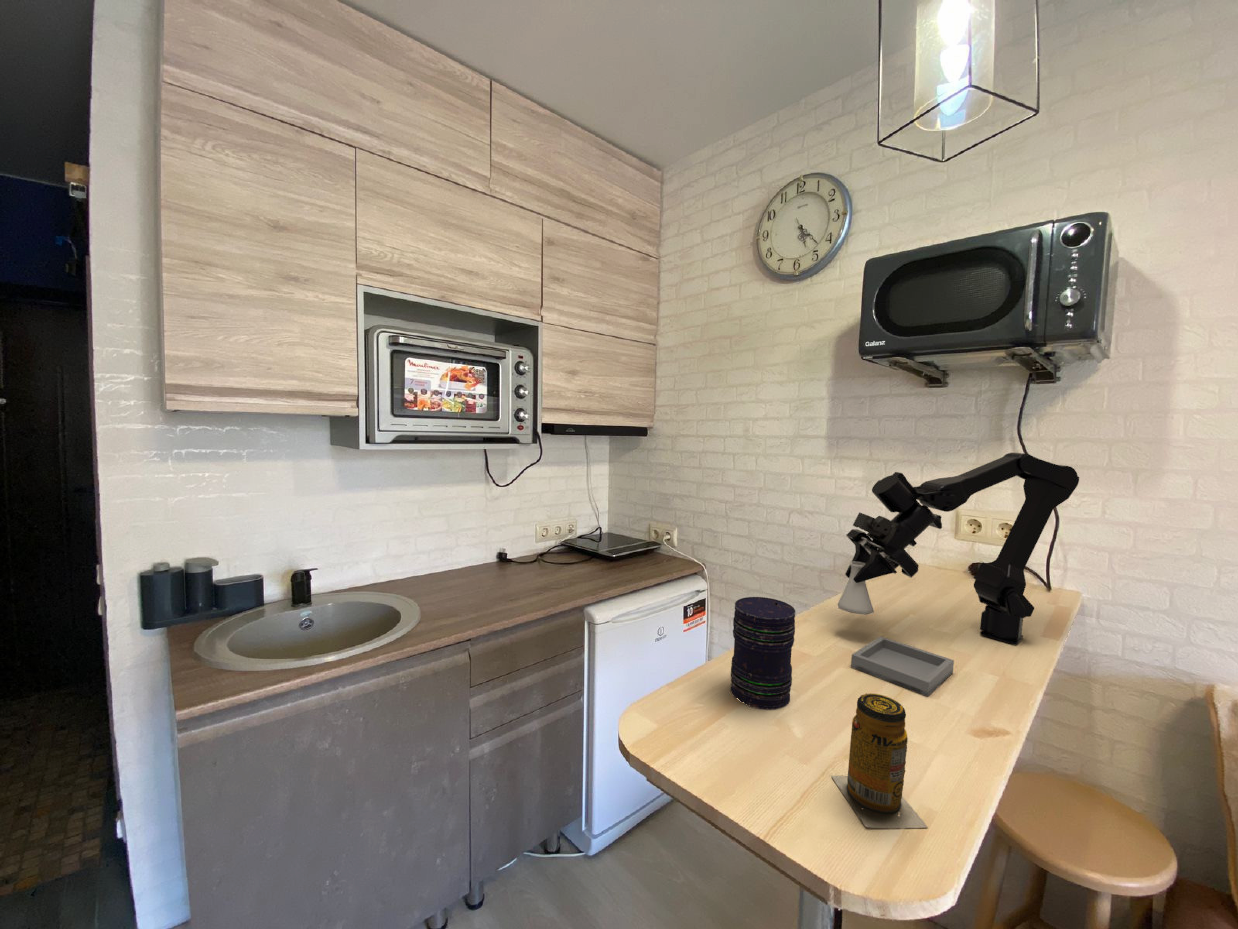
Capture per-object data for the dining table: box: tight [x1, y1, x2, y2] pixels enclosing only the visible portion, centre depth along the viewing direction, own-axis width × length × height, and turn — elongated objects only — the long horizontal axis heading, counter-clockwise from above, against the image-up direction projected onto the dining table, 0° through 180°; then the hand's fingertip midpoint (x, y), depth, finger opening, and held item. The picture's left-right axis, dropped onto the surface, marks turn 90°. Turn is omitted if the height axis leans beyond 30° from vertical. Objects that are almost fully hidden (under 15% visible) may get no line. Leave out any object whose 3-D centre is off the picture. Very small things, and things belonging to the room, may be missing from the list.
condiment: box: [831, 692, 928, 830], centre depth 62 cm, size 7×8×12 cm
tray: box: [850, 636, 955, 698], centre depth 95 cm, size 13×13×2 cm
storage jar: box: [730, 596, 796, 711], centre depth 85 cm, size 10×10×15 cm
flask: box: [837, 561, 875, 616], centre depth 109 cm, size 7×7×10 cm
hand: (850, 578), depth 109 cm, fingers closed on flask, 3 cm apart
